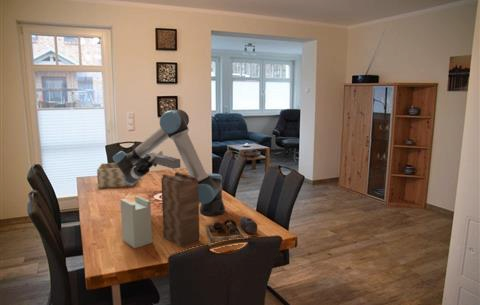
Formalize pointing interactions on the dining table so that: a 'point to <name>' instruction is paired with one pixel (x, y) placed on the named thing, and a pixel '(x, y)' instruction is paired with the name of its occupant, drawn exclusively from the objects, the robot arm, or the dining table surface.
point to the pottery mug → (225, 227)
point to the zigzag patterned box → (110, 176)
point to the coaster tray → (217, 239)
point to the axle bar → (165, 161)
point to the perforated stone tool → (248, 225)
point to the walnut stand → (180, 208)
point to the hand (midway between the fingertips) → (158, 154)
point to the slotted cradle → (136, 222)
